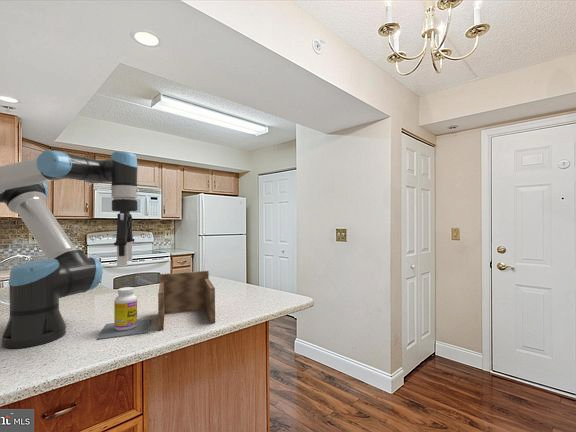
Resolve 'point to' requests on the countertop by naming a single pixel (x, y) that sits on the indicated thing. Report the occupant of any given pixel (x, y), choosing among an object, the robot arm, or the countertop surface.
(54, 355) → the countertop surface
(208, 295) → the cubby
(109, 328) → the slate mat
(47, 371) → the countertop surface
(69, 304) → the countertop surface
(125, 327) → the supplement bottle
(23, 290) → the robot arm
